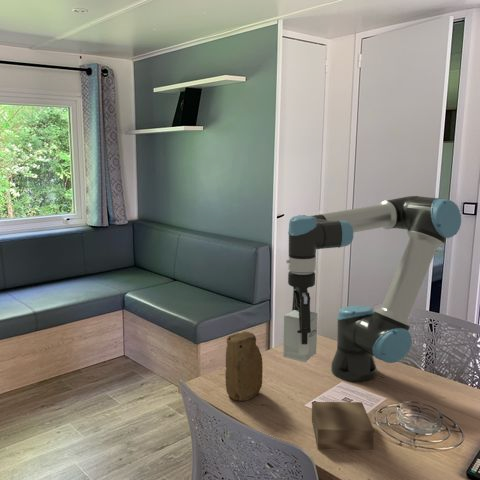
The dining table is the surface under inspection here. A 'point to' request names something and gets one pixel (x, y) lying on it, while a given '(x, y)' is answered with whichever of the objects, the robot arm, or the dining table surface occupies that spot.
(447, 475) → the dining table surface
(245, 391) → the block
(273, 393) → the dining table surface
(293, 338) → the supplement box
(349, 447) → the walnut block
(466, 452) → the dining table surface
